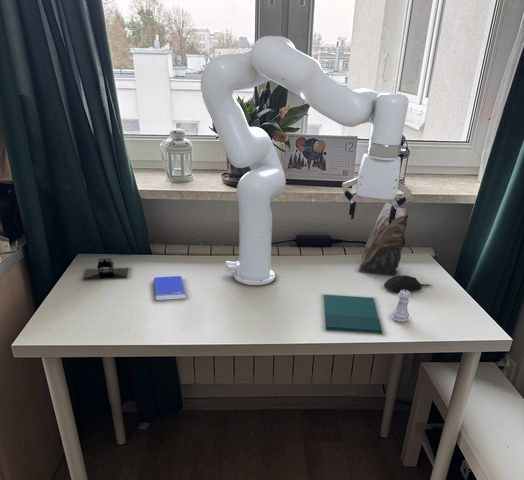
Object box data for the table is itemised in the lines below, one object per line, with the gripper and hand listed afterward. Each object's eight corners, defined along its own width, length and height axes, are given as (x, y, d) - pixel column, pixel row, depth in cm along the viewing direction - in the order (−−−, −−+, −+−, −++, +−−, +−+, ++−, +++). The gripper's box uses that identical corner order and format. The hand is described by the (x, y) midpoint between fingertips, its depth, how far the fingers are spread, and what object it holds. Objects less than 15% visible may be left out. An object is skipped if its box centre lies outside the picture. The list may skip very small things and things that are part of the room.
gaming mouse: (434, 290, 151) (437, 277, 149) (389, 294, 148) (392, 282, 146) (423, 281, 157) (425, 269, 154) (379, 285, 153) (381, 273, 151)
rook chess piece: (408, 323, 133) (414, 296, 128) (391, 321, 133) (396, 294, 129) (408, 316, 136) (413, 289, 132) (391, 314, 137) (396, 287, 133)
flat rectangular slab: (326, 329, 129) (326, 327, 128) (324, 295, 146) (324, 293, 145) (381, 333, 128) (382, 330, 127) (373, 298, 145) (373, 296, 144)
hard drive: (185, 293, 140) (181, 275, 151) (155, 295, 139) (153, 277, 149) (185, 298, 141) (181, 280, 151) (155, 300, 140) (154, 282, 150)
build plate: (84, 280, 150) (81, 265, 147) (87, 270, 156) (84, 256, 153) (127, 277, 152) (125, 263, 149) (128, 268, 158) (126, 254, 155)
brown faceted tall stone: (370, 258, 171) (380, 199, 161) (407, 267, 166) (419, 206, 156) (356, 270, 162) (365, 208, 152) (395, 280, 157) (407, 216, 146)
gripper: (418, 151, 124) (404, 219, 133) (348, 144, 126) (338, 211, 136) (420, 157, 118) (405, 228, 127) (346, 149, 120) (336, 220, 129)
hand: (370, 220), depth 131 cm, fingers open, 9 cm apart
